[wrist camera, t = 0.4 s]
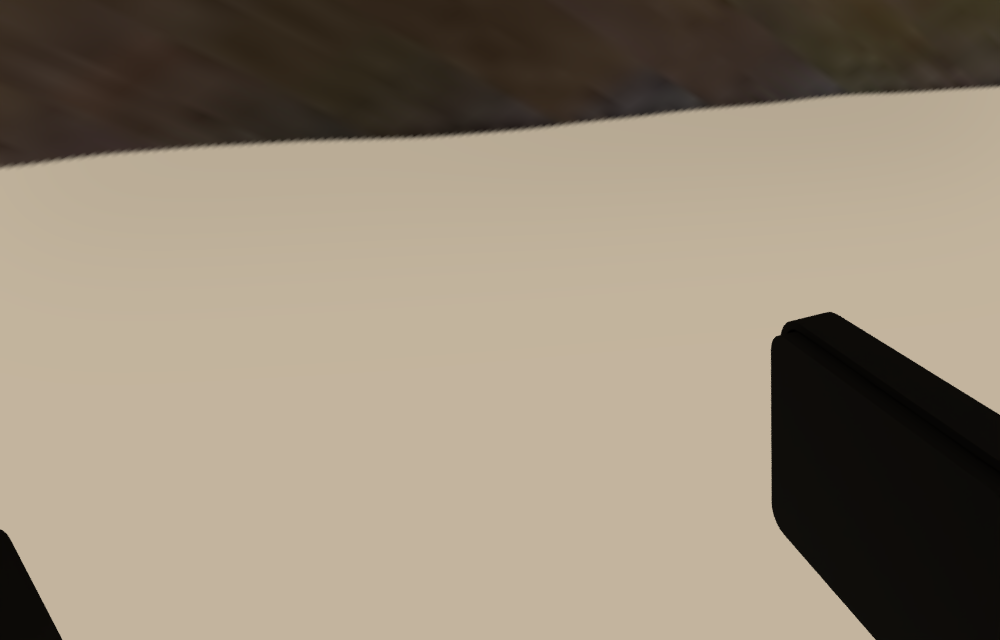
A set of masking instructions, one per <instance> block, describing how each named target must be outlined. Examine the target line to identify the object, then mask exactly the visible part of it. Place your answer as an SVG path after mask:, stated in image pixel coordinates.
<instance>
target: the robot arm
mask: <svg viewBox="0 0 1000 640" xmlns="http://www.w3.org/2000/svg"><path fill="white" fill-rule="evenodd" d="M771 429H772V430H771V435H772V436H771V442H772V443H771V444H772V445H771V446H772V447H771V448H772V509H773V514H774V517H775V520H776V522H777V524H778V526H779V527H780V530H781V531H782V532H783V534H784V535H785V536H786V537H787V538H788V539H789V541H790V542H791V543H792V544H793V545H794V546H795V548H796V549H797V550H798V551H799V552H800V553H801V554H802V556H803V557H804V558H805V559H806V560H807V561H808V563H809V564H810V565H811V566H812V567H813V568H814V569H815V571H817V573H818V574H819V575H820V576H821V577H822V579H823V580H824V581H825V582H826V583H827V584H828V585H829V587H830V588H831V589H832V590H833V591H834V592H835V594H836V595H837V596H838V597H839V598H840V599H841V600H842V602H843V603H844V604H845V605H846V606H847V607H848V608H849V610H850V611H851V612H852V613H853V614H854V615H855V616H856V618H857V619H858V620H859V621H860V622H861V623H862V624H863V626H864V627H865V628H866V629H867V630H868V631H869V633H870V634H871V635H872V636H873V637H874V638H875V639H876V640H1000V415H999V414H997V413H996V412H994V411H992V410H991V409H989V408H988V407H986V406H985V405H983V404H981V403H979V402H978V401H976V400H975V399H973V398H972V397H970V396H968V395H967V394H965V393H964V392H962V391H960V390H959V389H957V388H955V387H954V386H952V385H951V384H949V383H947V382H946V381H944V380H942V379H941V378H939V377H938V376H936V375H934V374H933V373H931V372H930V371H928V370H926V369H925V368H923V367H921V366H920V365H918V364H917V363H915V362H913V361H912V360H910V359H909V358H907V357H905V356H904V355H902V354H900V353H899V352H897V351H896V350H894V349H892V348H891V347H889V346H887V345H886V344H884V343H882V342H881V341H879V340H878V339H876V338H875V337H873V336H871V335H870V334H868V333H866V332H865V331H863V330H862V329H860V328H858V327H857V326H855V325H853V324H852V323H850V322H849V321H847V320H845V319H844V318H842V317H841V316H839V315H837V314H835V313H832V312H827V313H822V314H818V315H814V316H811V317H806V318H802V319H798V320H794V321H790V322H787V323H786V324H785V325H784V327H783V329H782V332H781V335H780V336H776V337H775V338H774V339H773V341H772V346H771ZM0 640H62V638H61V636H60V634H59V633H58V631H57V629H56V627H55V625H54V623H53V621H52V619H51V617H50V615H49V613H48V611H47V609H46V607H45V606H44V603H43V602H42V600H41V598H40V596H39V594H38V592H37V590H36V588H35V586H34V584H33V582H32V581H31V578H30V577H29V575H28V573H27V571H26V569H25V567H24V565H23V563H22V561H21V559H20V557H19V555H18V553H17V551H16V549H15V548H14V546H13V544H12V542H11V540H10V538H9V537H8V535H7V534H6V533H5V532H4V531H3V530H0Z"/></svg>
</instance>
